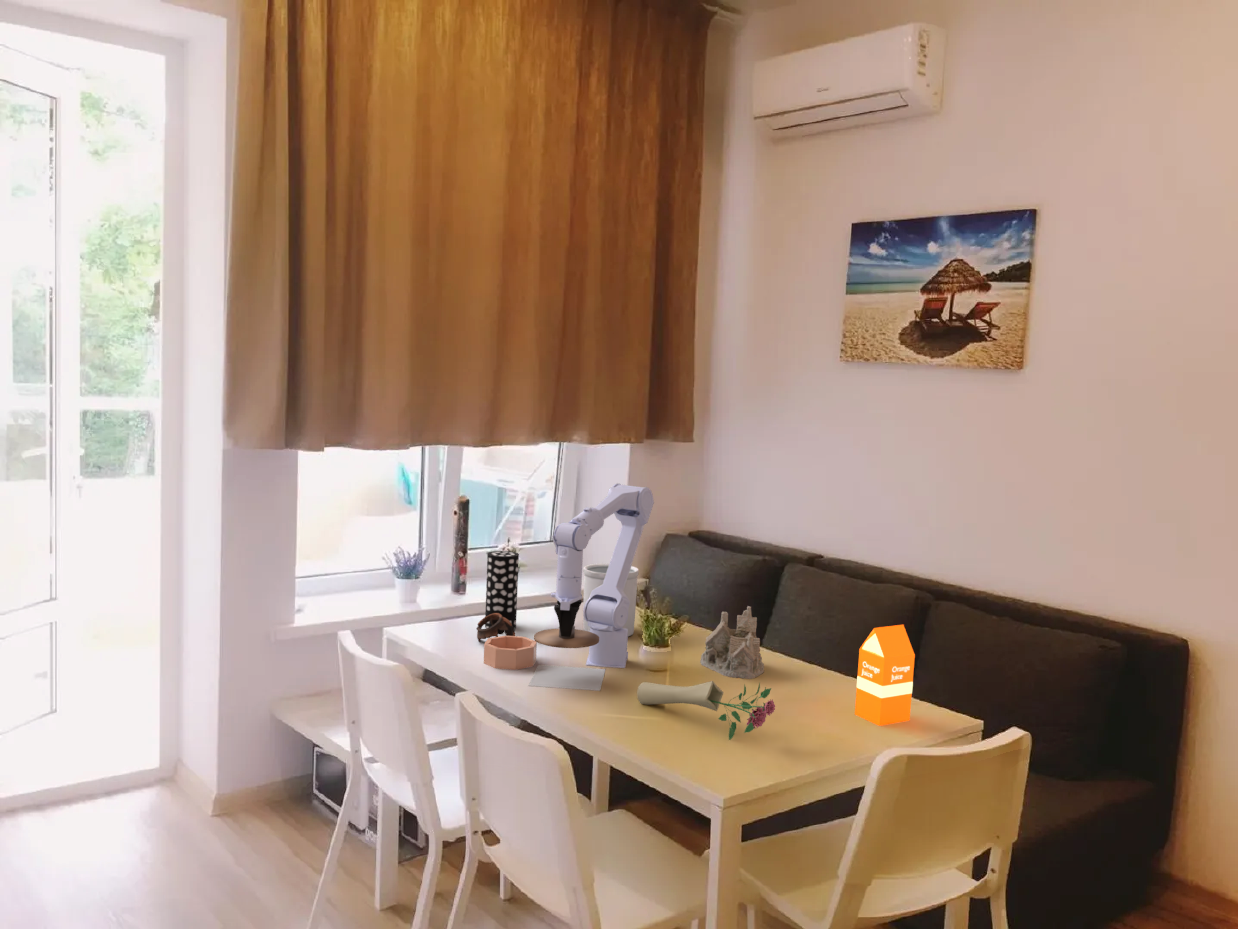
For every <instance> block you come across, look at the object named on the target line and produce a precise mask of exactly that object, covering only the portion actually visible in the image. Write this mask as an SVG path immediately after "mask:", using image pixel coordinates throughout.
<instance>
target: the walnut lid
mask: <svg viewBox="0 0 1238 929" xmlns="http://www.w3.org/2000/svg"><path fill="white" fill-rule="evenodd" d="M533 640H534V641H536V642H537V644H540V645H542V646H547V647H550V648H551V647H552V648H561V649H582V648H583V649H584V648H587V647H588V648H589V646H593V645H596V644H597V643H599V636H598V635H596V634H594V633H592V632H588V631H584V630H583V629H577V628H576V626H575V625H574V626H573V628H572V633H571V636H570V637H563V636H561V633H560V626H559V625H558V628H550V629H549V628H548V629H543V630H540V631H537V632H535V633H534V634H533Z"/></svg>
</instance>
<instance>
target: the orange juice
mask: <svg viewBox="0 0 1238 929" xmlns="http://www.w3.org/2000/svg"><path fill="white" fill-rule="evenodd" d="M858 653H859V654H858V667H857V677H856V693H855V704H854V705H855V706H854V707H855V708H854V715H855V716H857V717H859V718H861V719H864V720H866V721H868V722H870V723H872V724H874V725H876V726H879V727H880V726H881V727H882V726H887V725H893V724H898V723H903V722H904V723H905V722H909V721H911V718H910V717H911V707H912V706H911V705H912V696H913V695H912V694H913V687H914V668H915V658H916V654H915V652H914V649H913V647H912V644H911V642H910V638H909V636H908V633H907V631H906V628H905V624H897V625H889V626H888V625H887V626H879V627H874V628H873V629H872V631H871V632H870V633H869V635H868V636H867V638H866V639H865V640H864V642H863V643H862V645H861V646H860V648H859V650H858Z"/></svg>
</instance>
